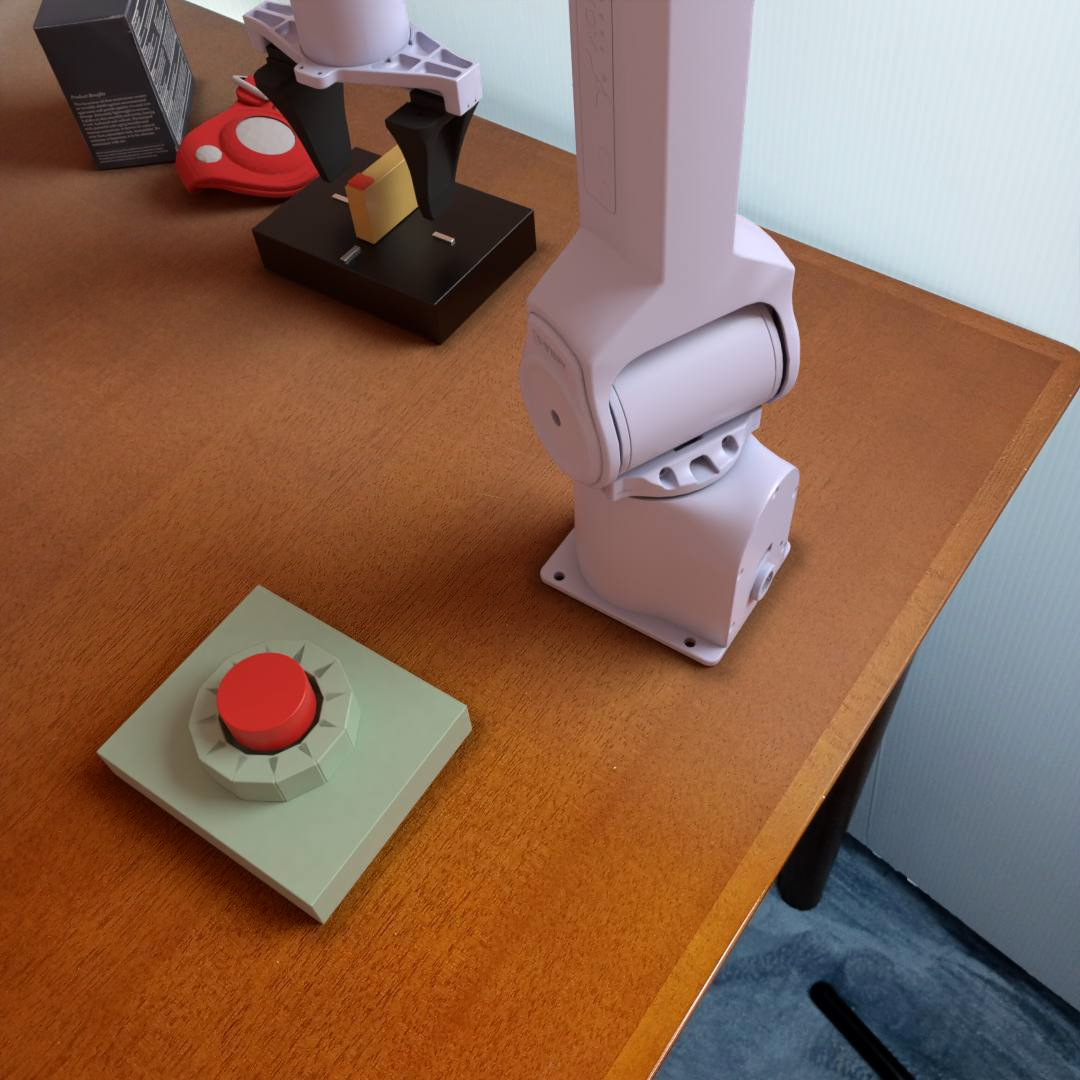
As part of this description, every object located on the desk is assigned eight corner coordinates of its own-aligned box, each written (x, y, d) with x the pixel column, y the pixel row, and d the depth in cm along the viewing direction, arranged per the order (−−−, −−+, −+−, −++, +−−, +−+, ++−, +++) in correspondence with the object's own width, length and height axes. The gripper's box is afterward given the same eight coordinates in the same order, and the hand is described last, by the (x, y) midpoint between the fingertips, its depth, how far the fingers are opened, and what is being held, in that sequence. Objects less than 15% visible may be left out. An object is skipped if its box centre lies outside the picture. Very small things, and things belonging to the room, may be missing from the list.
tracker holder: (352, 164, 71) (207, 186, 66) (344, 215, 75) (206, 240, 70) (276, 50, 76) (135, 63, 71) (272, 103, 79) (137, 120, 74)
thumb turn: (408, 193, 66) (398, 138, 63) (426, 199, 65) (417, 145, 62) (356, 237, 63) (343, 182, 60) (374, 244, 63) (362, 189, 60)
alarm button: (334, 699, 44) (325, 677, 42) (275, 768, 42) (264, 748, 41) (270, 659, 45) (259, 637, 44) (210, 724, 43) (196, 703, 42)
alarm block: (473, 729, 47) (462, 684, 43) (324, 925, 42) (299, 890, 39) (270, 610, 51) (247, 560, 48) (115, 774, 46) (77, 731, 43)
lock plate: (537, 250, 66) (534, 206, 64) (441, 345, 62) (433, 302, 59) (364, 185, 72) (355, 143, 69) (263, 269, 67) (249, 226, 64)
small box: (112, 92, 81) (53, -53, 73) (197, 82, 81) (149, -63, 73) (91, 172, 75) (25, 24, 66) (184, 161, 75) (130, 12, 66)
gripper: (174, -47, 53) (250, 191, 64) (403, 19, 47) (444, 267, 58) (270, -103, 56) (327, 132, 67) (495, -47, 51) (517, 199, 61)
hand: (386, 191), depth 63 cm, fingers open, 7 cm apart
